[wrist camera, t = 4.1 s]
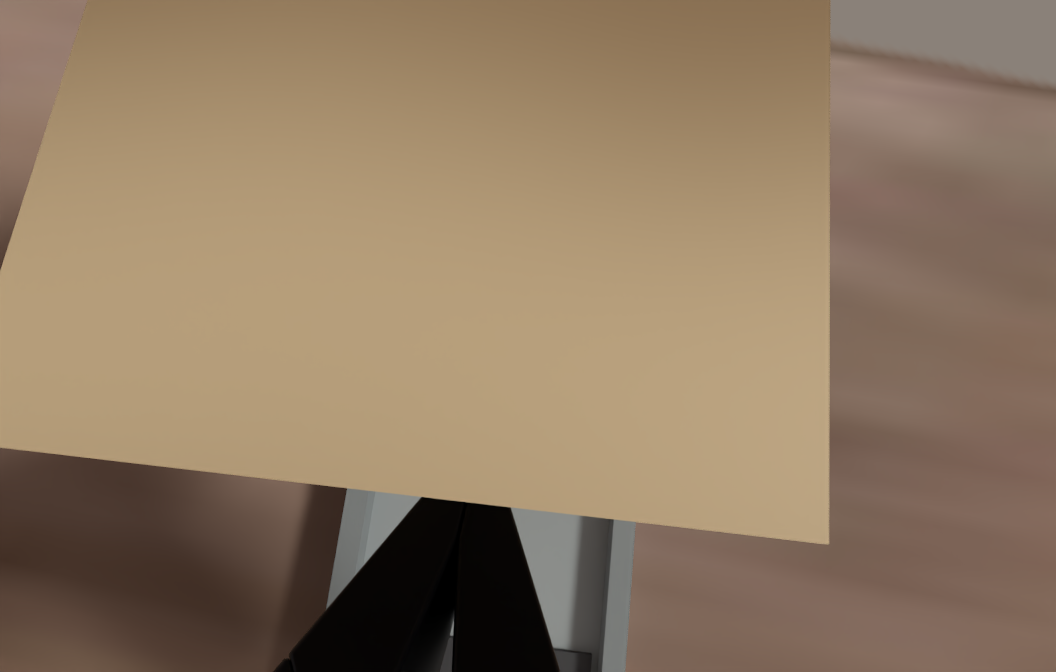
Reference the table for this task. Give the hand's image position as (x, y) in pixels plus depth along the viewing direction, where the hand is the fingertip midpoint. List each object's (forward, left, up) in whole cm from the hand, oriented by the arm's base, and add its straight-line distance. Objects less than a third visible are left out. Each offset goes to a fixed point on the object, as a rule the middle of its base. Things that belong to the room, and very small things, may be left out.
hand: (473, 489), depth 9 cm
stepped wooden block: (+2, +3, -8) cm, 9 cm away
